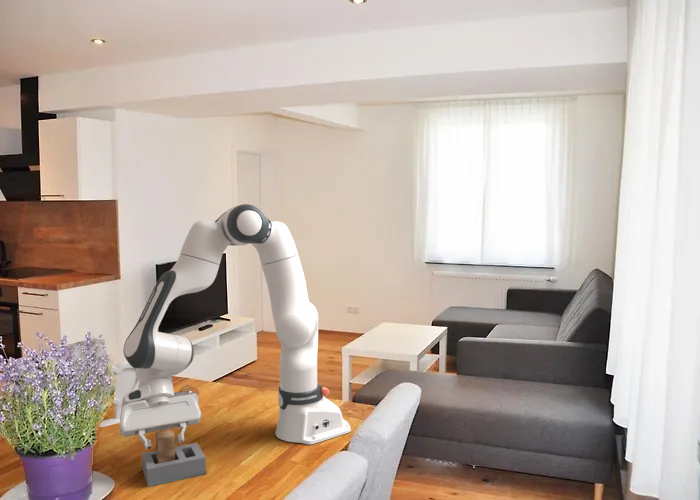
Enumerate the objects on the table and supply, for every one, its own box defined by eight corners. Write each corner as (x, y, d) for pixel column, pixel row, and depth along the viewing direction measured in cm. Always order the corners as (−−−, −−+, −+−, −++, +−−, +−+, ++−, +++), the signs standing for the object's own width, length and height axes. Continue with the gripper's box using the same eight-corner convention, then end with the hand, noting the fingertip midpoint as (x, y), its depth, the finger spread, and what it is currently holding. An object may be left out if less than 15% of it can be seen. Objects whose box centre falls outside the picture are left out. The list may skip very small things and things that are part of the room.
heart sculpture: (95, 428, 182) (92, 371, 180) (90, 423, 186) (87, 367, 184) (145, 415, 192) (143, 361, 190) (139, 411, 196) (137, 358, 194)
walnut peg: (172, 466, 156) (171, 429, 155) (175, 473, 152) (174, 435, 151) (156, 469, 154) (155, 432, 153) (159, 476, 150) (158, 438, 149)
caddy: (197, 458, 162) (196, 442, 161) (206, 474, 153) (205, 457, 152) (142, 469, 155) (141, 453, 155) (148, 486, 146) (147, 469, 146)
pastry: (202, 400, 206) (202, 390, 206) (183, 404, 203) (182, 393, 203) (196, 392, 214) (195, 382, 214) (177, 396, 211) (176, 385, 211)
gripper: (194, 395, 166) (204, 442, 158) (116, 407, 157) (122, 458, 149) (197, 384, 162) (207, 431, 154) (117, 396, 153) (123, 447, 145)
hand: (165, 444), depth 152 cm, fingers open, 7 cm apart
